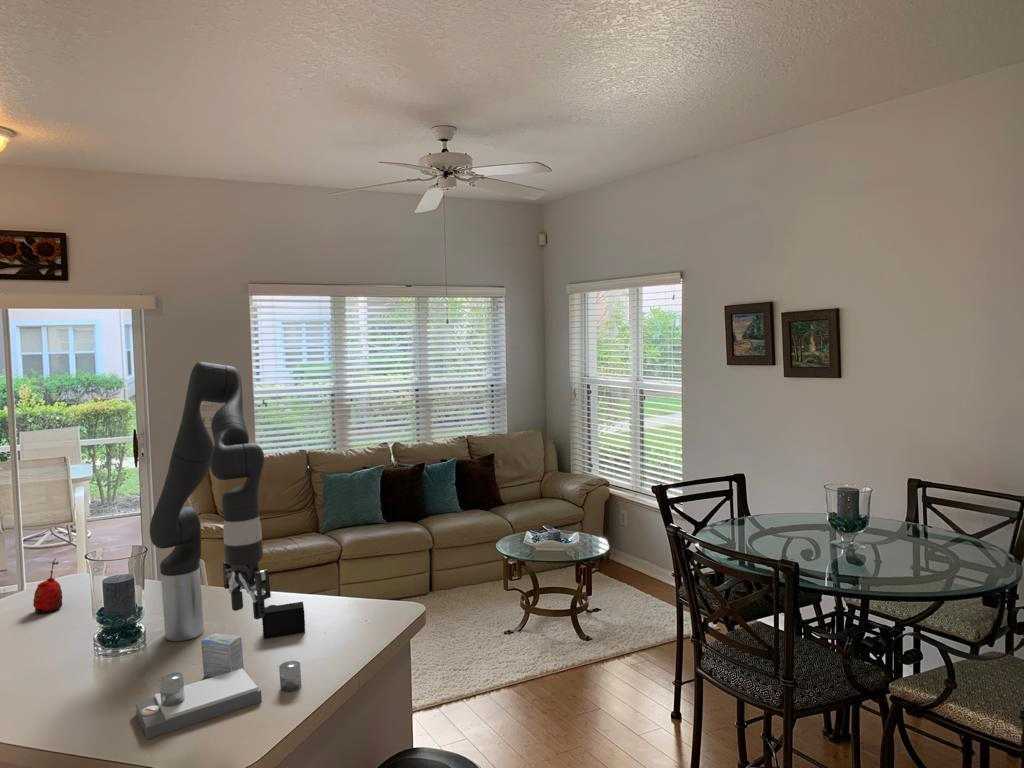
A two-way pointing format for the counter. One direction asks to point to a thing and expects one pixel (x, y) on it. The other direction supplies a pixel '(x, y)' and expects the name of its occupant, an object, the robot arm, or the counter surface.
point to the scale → (199, 703)
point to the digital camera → (283, 620)
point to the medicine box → (221, 654)
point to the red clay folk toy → (48, 595)
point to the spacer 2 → (290, 676)
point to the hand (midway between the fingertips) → (248, 613)
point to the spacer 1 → (172, 689)
